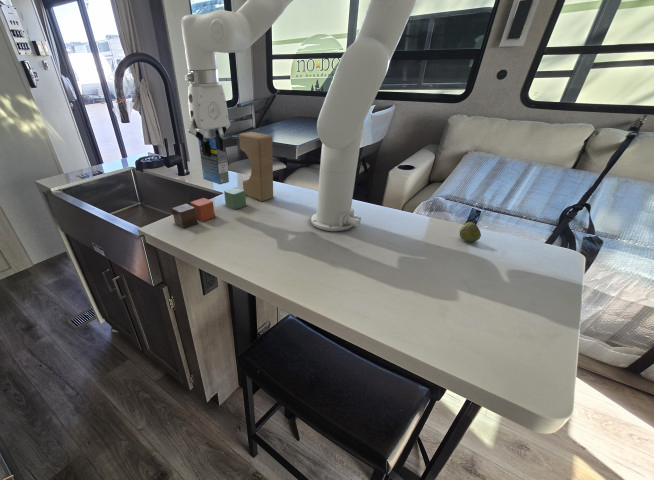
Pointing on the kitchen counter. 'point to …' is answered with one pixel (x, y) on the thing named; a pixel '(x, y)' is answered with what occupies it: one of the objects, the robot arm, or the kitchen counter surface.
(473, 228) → the lime
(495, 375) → the kitchen counter surface
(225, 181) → the tape cartridge
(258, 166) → the decorative block
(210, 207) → the block
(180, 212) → the block
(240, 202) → the block
